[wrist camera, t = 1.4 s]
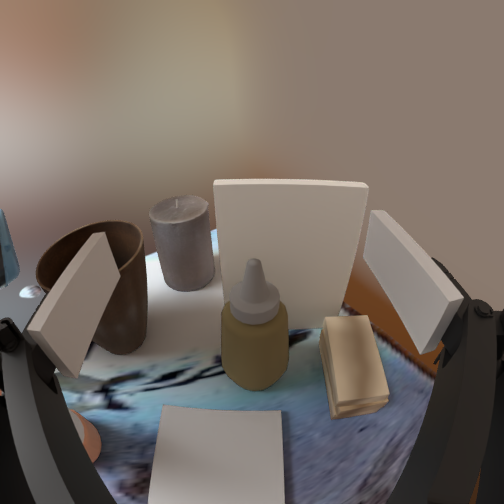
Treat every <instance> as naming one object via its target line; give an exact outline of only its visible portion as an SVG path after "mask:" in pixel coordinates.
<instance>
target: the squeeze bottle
mask: <svg viewBox="0 0 504 504" xmlns="http://www.w3.org/2000/svg"><path fill="white" fill-rule="evenodd" d="M221 358H222V367H223V369H224V371H225V372H226V374H227V375H228V377H229V378H230V379H232V380H233V381H234V382H235V383H236V384H238V385H239V386H240V387H242V388H244V389H246V390H250V391H260V390H264V389H266V388H268V387H270V386H271V385H273V384H274V383H275V382H276V381H277V380H278V379H279V378H280V377H281V376H282V375H283V373H284V372H285V371H286V369H287V365H288V361H289V336H288V313H287V310H286V307H285V305H284V304H283V303H282V302H281V301H280V294H279V291H278V289H277V288H276V287H275V286H274V285H273V284H272V283H270V282H268V281H266V279H265V276H264V272H263V268H262V264H261V261H260V260H259V259H256V258H253V259H249V260H248V261H247V264H246V269H245V273H244V277H243V281H241V282H239V283H237V284H236V285H235V286H234V287H232V289H231V291H230V293H229V301H228V302H227V303H226V304H225V306H224V308H223V310H222V314H221Z"/></svg>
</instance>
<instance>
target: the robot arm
mask: <svg viewBox="0 0 504 504" xmlns="http://www.w3.org/2000/svg"><path fill="white" fill-rule="evenodd" d="M363 258H364V260H365V261H366V263H367V264H368V266H369V267H370V269H371V271H372V272H373V273H374V275H375V277H376V278H377V280H378V282H379V283H380V285H381V286H382V288H383V290H384V291H385V293H386V294H387V296H388V298H389V299H390V301H391V303H392V304H393V306H394V308H395V310H396V311H397V313H398V315H399V316H400V318H401V320H402V322H403V324H404V325H405V327H406V329H407V331H408V333H409V334H410V336H411V338H412V340H413V342H414V344H415V346H416V347H417V350H418V351H419V353H420V355H421V354H424V353H427V352H430V351H433V350H435V349H436V347H437V345H438V344H439V342H440V341H441V340H442V342H443V344H444V347H443V349H442V351H441V352H440V354H439V355H438V357H437V358H436V360H435V361H434V364H436V363H437V362H438V360H440V361H439V365H438V370H437V374H436V378H435V382H434V386H433V390H432V394H431V397H430V401H429V404H428V408H427V411H426V414H425V417H424V420H423V423H422V426H421V429H420V431H419V434H418V437H417V439H416V442H415V445H414V447H413V450H412V452H411V454H410V457H409V459H408V461H407V463H406V466H405V468H404V470H403V472H402V474H401V476H400V478H399V480H398V482H397V484H396V486H395V488H394V490H393V492H392V494H391V496H390V497H389V499H388V501H387V503H386V504H469V501H470V498H471V495H472V493H473V490H474V487H475V484H476V481H477V478H478V475H479V472H480V468H481V473H480V481H479V488H478V494H477V499H476V504H504V309H503V311H493V309H492V308H491V307H490V306H489V305H488V304H487V303H486V302H484V301H482V300H478V299H475V300H472V299H471V298H470V297H469V295H468V294H467V293H466V292H465V290H464V289H463V288H462V287H461V285H460V284H459V283H458V282H457V281H456V279H454V277H453V276H452V275H451V273H449V272H448V270H447V269H446V268H445V267H444V266H443V264H441V263H440V262H438V261H437V260H436V259H434V258H430V257H429V256H428V254H427V253H426V252H425V251H424V250H423V249H422V248H421V247H420V246H419V245H418V244H417V243H416V242H415V241H414V239H412V237H411V236H410V235H409V234H408V233H407V232H406V231H405V230H404V229H403V228H402V227H401V226H400V225H399V224H398V223H397V222H396V221H395V220H394V219H393V218H391V216H390V215H389V214H387V213H386V212H385V211H384V210H371V213H370V220H369V226H368V232H367V238H366V243H365V249H364V255H363ZM19 272H20V267H19V263H18V259H17V256H16V252H15V249H14V246H13V242H12V239H11V235H10V232H9V229H8V225H7V221H6V218H5V215H4V212H3V210H2V209H0V289H2V288H3V287H6V286H8V284H9V283H10V282H11V281H13V280H14V279H16V278H17V276H18V275H19ZM119 278H120V273H119V271H118V268H117V265H116V263H115V260H114V257H113V254H112V252H111V249H110V246H109V243H108V240H107V237H106V234H105V232H100V233H93V234H92V235H91V236H90V237H89V239H88V240H87V241H86V242H85V244H84V245H83V246H82V248H81V249H80V250H79V251H78V253H77V254H76V255H75V257H74V258H73V259H72V261H71V262H70V263H69V265H68V266H67V268H66V269H65V270H64V272H63V273H62V275H61V276H60V277H59V279H58V280H57V282H56V283H55V285H54V286H53V288H52V289H51V290H50V291H49V292H48V293H47V294H46V295H45V296H44V298H43V299H42V301H41V302H40V305H38V307H37V308H36V311H35V312H34V313H33V315H32V317H31V319H30V320H29V322H28V323H27V325H26V327H25V329H24V330H23V332H22V333H21V332H20V331H19V329H18V328H17V327H16V325H15V324H14V322H13V321H12V319H10V318H3V319H1V320H0V390H1V391H2V394H1V396H0V504H117V503H116V501H115V500H114V498H113V497H112V495H111V494H110V492H109V491H108V489H107V487H106V486H105V484H104V483H103V481H102V479H101V477H100V476H99V474H98V472H97V470H96V469H95V467H94V465H93V463H92V461H91V459H90V457H89V455H88V453H87V451H86V449H85V447H84V445H83V443H82V441H81V439H80V437H79V434H78V432H77V430H76V427H75V425H74V423H73V420H72V418H71V415H70V413H69V410H68V407H67V405H66V402H65V399H64V396H63V393H62V390H61V387H60V384H59V381H58V379H57V377H56V375H55V374H54V371H55V369H56V368H57V369H58V370H59V371H60V373H61V374H62V375H63V376H66V377H71V378H76V379H77V378H78V375H79V372H80V369H81V367H82V364H83V361H84V358H85V356H86V353H87V351H88V348H89V346H90V343H91V341H92V338H93V336H94V333H95V331H96V328H97V326H98V324H99V321H100V319H101V317H102V315H103V312H104V310H105V308H106V306H107V303H108V301H109V299H110V297H111V295H112V293H113V291H114V289H115V287H116V284H117V282H118V280H119Z"/></svg>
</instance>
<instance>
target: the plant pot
mask: <svg viewBox="0 0 504 504" xmlns="http://www.w3.org/2000/svg"><path fill="white" fill-rule="evenodd" d="M100 232H105V234H106V237H107V240H108V243H109V246H110V249H111V252H112V254H113V257H114V260H115V263H116V265H117V268H118V271H119V273H120V278H119V280H118V282H117V284H116V287H115V289H114V291H113V293H112V295H111V297H110V299H109V301H108V303H107V306H106V308H105V310H104V312H103V315H102V317H101V319H100V321H99V324H98V326H97V328H96V331H95V333H94V336H93V338H92V341H93V342H95V343H96V344H98V345H99V346H101V347H102V348H104V349H106V350H108V351H109V352H111V353H114V354H119V355H122V354H128V353H131V352H133V351H134V350H136V349H137V348H138V347H140V345H141V344H142V343H143V341H144V339H145V336H146V327H147V310H148V295H147V273H146V262H145V252H144V241H143V234H142V231H141V230H140V229H139V228H138V227H137V226H136V225H134V224H133V223H130V222H127V221H121V220H107V221H101V222H96V223H92V224H88V225H86V226H83V227H80V228H78V229H76V230H74V231H72V232H70V233H68V234H66V235H65V236H63V237H62V238H60V239H59V240H57V241H56V242H55V243H54V244H53V245H52V246H50V248H49V249H48V250H46V252H45V253H44V254H43V256H42V257H41V259H40V261H39V262H38V265H37V268H36V279H37V282H38V283H39V285H40V286H41V288H42V289H43V290H44V292H45V293H46V294H47V293H48V292H49V291H50V290H51V289H52V288H53V286H54V285H55V283H56V282H57V280H58V279H59V277H60V276H61V275H62V273H63V272H64V270H65V269H66V268H67V266H68V265H69V263H70V262H71V261H72V259H73V258H74V257H75V255H76V254H77V253H78V251H79V250H80V249H81V248H82V246H83V245H84V244H85V242H86V241H87V240H88V239H89V237H90V236H91V235H92V234H93V233H100Z"/></svg>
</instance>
